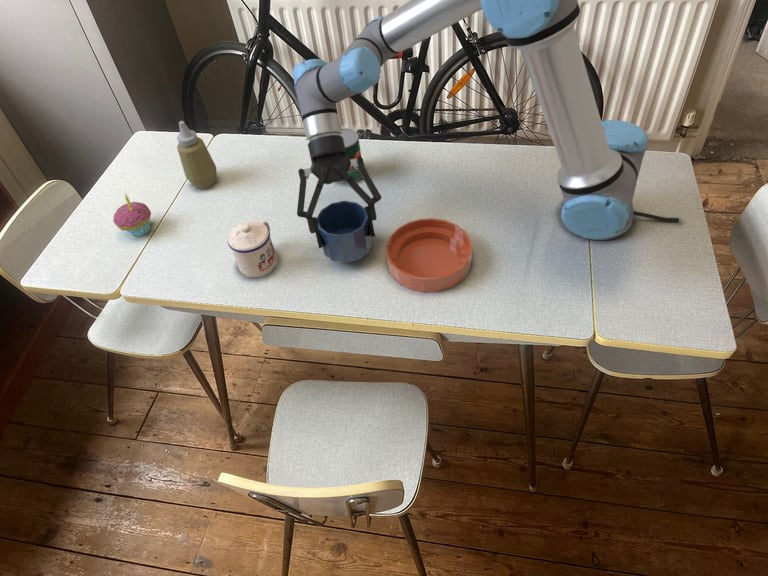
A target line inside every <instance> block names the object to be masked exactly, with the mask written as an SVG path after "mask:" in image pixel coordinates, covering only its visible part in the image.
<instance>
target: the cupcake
mask: <svg viewBox="0 0 768 576" xmlns="http://www.w3.org/2000/svg"><path fill="white" fill-rule="evenodd" d="M124 199H125V201H126V203H125V204H122V205H121V206H119V207H118V208H117V209H116V211H115V212H114V216H113V219H112V220H113V224H114V225H115V226H116V227H117V228H118V229H119V230H121V231H126V232H128V234H130V235H131V236H132V237H142V236H145V235H146V234H147V233H148V232H149V231H150V229H151V224H150V223H151V221H150V220H151V216H152V212H151V210H150V208H149V207H148V205H147V204H145V203H144V202H139V201H131V200H130V199H129V196H128V195H127V193H125V194H124Z"/></svg>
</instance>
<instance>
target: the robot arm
mask: <svg viewBox="0 0 768 576" xmlns="http://www.w3.org/2000/svg"><path fill="white" fill-rule="evenodd" d="M481 10H482V13H483V15H484V17H485V19H486V21H487V22H488V24H489V25H490V27H492V29H494V31H496V32H500V33H501V34H502V35H503V36H504V38H505V41H506V43H507V46H508V47H509V48H511V49H515V50H517V51H519V52H520V53H521V56H522V58H523V62H524V63H525V67H526V69H527V73H528V76H529V78H530V81H531V84H532V86H533V89H534V93H535V95H536V98H537V101H538V103H539V107H540V109H541V112H542V115H543V119H544V120H545V123H546V126H547V130H548V132H549V135H550V138H551V140H552V143H553V147H554V149H555V152H556V154H557V157H558V159H559V164H560V168H559V170H558V171H557V175H556V179H557V183H558V186H559V188H560V191H561V194H562V197H563V202H562V206H561V211H560V216H561V222H562V223H563V225H564V227H565V228H566V229H567V230H569V232H570V233H573V234H574V235H576V236H579V237H581V238H584V239H588V240H592V241H610V240H615V239H617V238H620V237H622V236H624V235H625V234H626V233H628V231H629V230H630V228H631V227H632V223H633V220H634V216H637V217H644V218H648V219H652V220H656V221H662V222H670V223H671V222H674V223H675V222H676V223H679V222H680V217H665V216H660V215H659V216H658V215H655V214H651V213H646V212H641V211H637V210H634V205H633V199H634V195H635V192H636V187H637V184H638V183H637V182H638V180H639V179H638V178H639V174H640V171H641V166H642V163H643V161H644V160H643V159H644V156H645V152H646V151H647V150H648V141H649V136H648V133H647V132H646V130H644V129H643V128H642V127H640V126H638V125H636V124H634V123H632V122H629V121H625V120H620V119H619V120H618V119H605V120H602V119H601V116H600V112H599V108H598V106H597V101H596V98H595V95H594V92H593V88H592V85H591V81H590V77H589V73H588V71H587V67H586V63H585V61H584V57H583V53H582V51H581V47H580V43H579V41H578V37H577V33H576V30H575V25H576V24H577V22H578V19H579V18H580V16H581V8H580V5H579V1H578V0H409V1H407V2H406V3H404V4H403V5H400V6H399V7H398V8H396V9H394V10H393V11H391V12H390V13H388V14H386V15H385V16H377V17H375V18H374V19H372V20H371V21H370V22H368V23H367V24H366V25H365V26H364V27H363V29H362V31H360V33H359V34H358V35H357V36H356V37H355V38H354V40H353V41H352V42H350V44H349V45H348V46H347V47H346V48H345V49H344V50H343V51H342V52H341V54H340V55H339V56H338V57H336V58H335V59H333V60H332V61H329V62H328V63H327V62H326V61H325V60H324V59H321V58H312V59H311V58H310V59H307V60H305V61H301V62H299V63H297V64H296V65H295V66H294V67H293V69H292V77H293V83H294V87H293V89H294V90H295V93H296V97H297V102H298V106H299V110H300V114H301V119H302V124H303V129H304V135H305V139H306V140H307V141H308V144H307V148H308V152H309V159H310V161H311V165H310V167H307V168H299V169H298V170H297V172H298V177H299V188H298V189H299V190H298V197H297V209H296V215H297V217H299V218H305V219H306V222H307V225H308V230H309V232H310V234H315V237H316V241H317V242H316V243H317V245H318V249H323V247H322V242H321V238H320V234H319V229H318V225H317V220H316V218H317V216H314V213H315V210H316V207H317V204H318V201H319V198H320V196H321V194H322V190H323V188H324V185H327V186H328V185H331V184H334V183H340V182H341V181H343V180H344V181H345V182H346V183H345V184H346V185H348V186H349V187H350V188H351V189H352V190H353V191H354V193H356V194H357V195H358V196H359V197H360V199H361V200H362V201H364V203H365V204H366V206H364V208H365V209H366V212H367V215H368V221H369V228H370V235H371V238H374V237H376V232H375V227H374V224H373V221H377V212H376V207H375V204H377V203H378V202H380V201H381V199H382V195H381V194H380V192H379V190H378V188H377V186H376V185H375V183H374V181H373V180H372V177H371V176H370V175H369V174H370V173H368V171H367V169H366V168H365V167H366V166H365V161H364V158H363V157H362V156H361V157H358V158H357V159H352V160H350V159H349V158H348V157H347V154H346V150H345V145H344V140H343V137H342V136H340V134H341V133H342V131H341V129H342V127H341V126H342V125H341V121H340V117H339V111H338V107H337V103H340V102H341V101H344V100H347V99H348V98H351V97H353V96H356V95H358V94H361V93H363V92H364V93H365V92H366V91H368V90H369V89H371V88H372V87H374V86H375V85H376V84H378V82H379V81H380V78H381V72H382V69H381V68H382V67H383V65H385V63H386V62H388V61H389V60H390V59H391V58H394V57H396V56H398V55H400V54H401V53H402V52H405V51H406V50H408V49H410V48H412V47H413V46H415V45H417V44H419V43H420V42H423V41H425V40H427V39H428V38H431V37H432V36H435V35H436V34H438V33H440V32H442V31H444V30H446V29H447V28H449V27H452V26H454V25H455V24H457V23H459V22H461V21H462V20H465V19H466V18H468V17H470V16H472V15H475V13H477V12H479V11H481ZM350 165H353V166H354V168H355V169H358V170H359V173H360V175H361V176H362V177H361V179H362V180H363V181H364V183H365V185H366V188H368V190H369V192H370V194H371V195H372V197H370V196H369V194H368V193H367V192H366V191H365V190H364V189H363V188H362V187H361V186H360V185H359V184H358V182H357V181H356V182H355V181H354V180H353V179H352V177H351V176H350V175H349V174H348V173H347V172H348V170H349V167H350ZM311 174H312V175H313V176H314V177H316V178H317V179H318V180H317V183H316V186H315V189H314V192H313V193H312V196H311V200H310V201H309V205H308V207H307V211H305V202H306V201H305V200H306V192H307V180H308V179H310V175H311Z"/></svg>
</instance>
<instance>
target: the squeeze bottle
mask: <svg viewBox="0 0 768 576" xmlns="http://www.w3.org/2000/svg"><path fill="white" fill-rule="evenodd" d="M178 128H179V134H178V135H177V136H176V139H177V141H178V143H177V146H176V149H177V152H178V155H179V159H180V163H181V165H182V166H181V167H182V169H183V172H184V176H185V178H186V179H187V181H189V182H190V183H191V184H192V185H193V187H195V188H196V189H200V190H204V189H208V188H210V187H212V186H213V185H214V184H215V183H216V181H217V165H216V164H215V162H214V159H213V157H212V156H211V153H210V152H209V150H208V148H207V146H206V144H205V142H204V140H203V139H202V138H201V137H199V136H198V135H197V132H196V131H194V130H191V129H189V127H188V126H187V124H186V123H185V121H184V120H180V121H179V122H178Z"/></svg>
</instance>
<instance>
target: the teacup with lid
mask: <svg viewBox="0 0 768 576" xmlns="http://www.w3.org/2000/svg"><path fill="white" fill-rule="evenodd" d="M227 244H228V245H227V246H228V247H229V248H230V250H231V251H232V254H233V257H234V259H235V261H236V264H237V267H238V269H239V271H240V273H241V274H242V275H244V276H246V277H248V278H261V277H264V276H266V275H269V274H270V273H271V272H272V271H274V269H275V268H276V266H277V263H278V256H277V253H276V250H275V248H274V244H273V241H272V238H271V228H270V224H269V222H268V221H263V220H262V221H257V220H248V221H244V222H241V223H238V224H237V225H235V226H234V227H232V229H231V230H230V231H229V233H228V236H227Z"/></svg>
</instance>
